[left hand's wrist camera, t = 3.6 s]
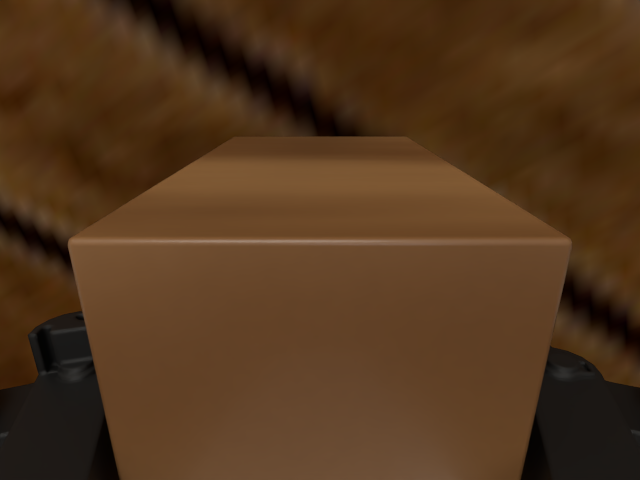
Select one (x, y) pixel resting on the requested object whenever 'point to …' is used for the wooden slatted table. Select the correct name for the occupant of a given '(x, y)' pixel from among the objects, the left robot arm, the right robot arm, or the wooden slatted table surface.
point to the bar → (320, 316)
